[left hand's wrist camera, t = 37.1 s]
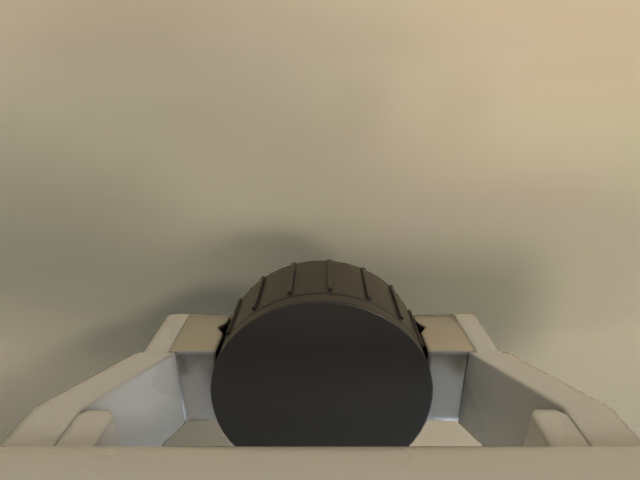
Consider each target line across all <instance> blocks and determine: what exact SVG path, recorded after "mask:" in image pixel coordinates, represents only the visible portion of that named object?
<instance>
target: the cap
mask: <svg viewBox="0 0 640 480" xmlns="http://www.w3.org/2000/svg"><path fill="white" fill-rule="evenodd" d="M223 340H224V342H223V344H222V347H221V350H220V352H219V355H218V357H217V360H216V363H215V366H214V369H213V373H212V377H211V386H210V390H211V402H212V406H213V411H214V414H215V416H216V419H217V421H218V423H219V425H220V427H221V429H222V431H223V432H224V434H225V435H226V436H227V438H228V439H229V440H230V441H231V443H232V444H233V445H234V446H249V447H409V445H410V444H411V443H412V442H413V441H414V440H415V439H416V437H417V436H418V435H419V433H420V432H421V430H422V428H423V426H424V425H425V423H426V421H427V418H428V415H429V412H430V409H431V404H432V398H433V383H432V376H431V372H430V369H429V365H428V362H427V360H426V357H425V354H424V352H423V349H422V348H423V347H425V346H424V344H423V341H422V338H421V336H420V333H419V331H418V328H417V326H416V323H415V320H414V318H413V315H412V313H411V310H407V308H406V306H405V304H404V303H403V301H402V300H401V298H400V297H399V296H398V294H397V293H396V292H395V290H394V287H393V286H392V285H390V286H389V285H388V284H387V283H385V282H384V281H383V280H382V279H380V278H379V277H377V276H375V275H374V274H372V273H370V272H368V271H366V269H365V268H363V267H362V268H359V267H356V266H353V265H349V264H346V263H340V262H334V261H331V260H327V261H309V262H303V263H298V264H296V263H292V265H290V266H287V267H284V268H282V269H279V270H277V271H275V272H273V273H271V274H269V275H268V276H266V277H264V276H263V277H261V279H260V281H259V282H258V283H257V284H256V285H254V286H253V287H252V288H251V289H250V290H249V291H248V293H247V294H246V295H245V296H244V297H243V299H241V298H240V299H239V300H238V303H237V306H236V308H235V311H234V313H233V316H232V319H231V321H230V324H229V326H228V329H227V332H226V336H224V337H223Z"/></svg>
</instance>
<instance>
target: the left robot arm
mask: <svg viewBox="0 0 640 480" xmlns="http://www.w3.org/2000/svg"><path fill="white" fill-rule="evenodd" d="M413 318H414V320H415V323H416V326H417V328H418V331H419V333H420V336H421V338H422V341H423V344H424V346H425V347H423V348H422V349H423V352H424V354H425V357H426V360H427V362H428V365H429V369H430V372H431V376H432V383H433V398H432V404H431V409H430V412H429V415H428V418H427V420H446V421H459V424H461V425H462V426H463V427H464V428H465V429H466V430H467V431H468V432H469V433H470V434H471V435H472V436H473V437H474V438H475V439H476V440H477V441H479V442H480V443H481V444H482V445H483V446H435V447H249V446H161V445H162V444H163V443H164V442H165V441H167V440H168V439H169V438H170V437H171V436H172V435H173V434H174V433H175V432H176V431H177V430H178V429H179V428H180V427H181V426H182V425H183V424H184V423H185V421H198V420H217V419H216V416H215V414H214V411H213V406H212V402H211V390H210V386H211V377H212V373H213V369H214V366H215V363H216V360H217V357H218V355H219V352H220V350H221V347H222V344H223V342H224V340H223V337H224V336H226V332H227V329H228V326H229V324H230V321H231V319H232V315H208V314H192V315H191V314H171V315H168V316H167V318H166V319H165V321H164V322H163V324H162V325H161V327H160V328H159V330H158V331H157V333H156V334H155V336H154V337H153V339H152V340H151V342H150V343H149V345H148V347H147V348H146V350H145V351H144V352H137V353H135V354H133V355H131V356H130V357H128V358H126V359H124V360H122V361H120V362H118V363H116V364H115V365H113V366H111V367H109V368H107V369H105V370H103V371H102V372H100V373H98V374H96V375H94V376H92V377H90V378H88V379H87V380H85V381H83V382H81V383H79V384H77V385H75V386H74V387H72V388H70V389H68V390H66V391H64V392H62V393H60V394H59V395H57V396H55V397H53V398H51V399H49V400H47V401H45V402H44V403H42V404H40V405H38V406H36V407H34V408H33V409H32V410H31V411H30V412H29V414H28V415H27V416H26V417H25V418H24V419H23V420H22V421H21V423H20V424H19V425H18V426H17V427H16V428H15V429H14V431H13V432H12V433H11V434H10V435H9V436H8V437H7V438H6V440H5V441H4V442H3V443H2V444H1V445H0V480H640V439H639V438H638V437H637V436H636V435H635V434H634V432H633V431H632V430H631V429H630V428H629V427H628V426H627V425H626V423H625V422H624V421H623V420H622V419H621V418H620V417H619V416H618V414H617V413H616V412H615V411H614V410H613V409H612V408H610V407H608V406H606V405H605V404H603V403H601V402H599V401H597V400H595V399H593V398H591V397H590V396H588V395H586V394H584V393H582V392H580V391H578V390H576V389H575V388H573V387H571V386H569V385H567V384H565V383H563V382H561V381H559V380H558V379H556V378H554V377H552V376H550V375H548V374H546V373H544V372H543V371H541V370H539V369H537V368H535V367H533V366H531V365H529V364H528V363H526V362H524V361H522V360H520V359H518V358H516V357H514V356H513V355H511V354H509V353H507V352H500V351H499V350H498V348H497V347H496V345H495V344H494V343H493V341H492V340H491V338H490V337H489V335H488V334H487V332H486V331H485V329H484V328H483V326H482V325H481V323H480V322H479V320H478V319H477V318H476V316H475V315H473V314H449V315H413Z"/></svg>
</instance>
